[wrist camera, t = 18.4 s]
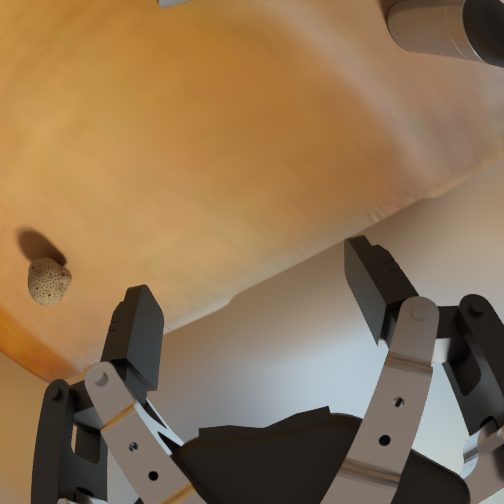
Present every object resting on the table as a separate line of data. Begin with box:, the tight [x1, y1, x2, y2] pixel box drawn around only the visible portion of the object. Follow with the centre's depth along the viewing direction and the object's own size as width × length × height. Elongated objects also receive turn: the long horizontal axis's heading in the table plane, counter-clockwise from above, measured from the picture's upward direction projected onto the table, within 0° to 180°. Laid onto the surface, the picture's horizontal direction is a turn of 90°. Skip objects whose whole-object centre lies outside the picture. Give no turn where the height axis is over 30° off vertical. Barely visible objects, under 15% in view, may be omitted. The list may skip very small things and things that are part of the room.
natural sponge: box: [28, 257, 72, 306], centre depth 46 cm, size 9×9×10 cm
